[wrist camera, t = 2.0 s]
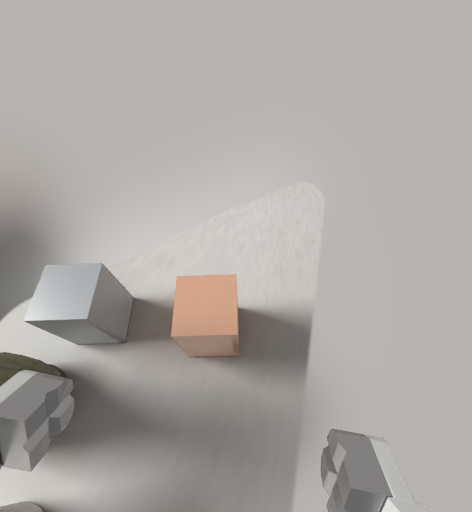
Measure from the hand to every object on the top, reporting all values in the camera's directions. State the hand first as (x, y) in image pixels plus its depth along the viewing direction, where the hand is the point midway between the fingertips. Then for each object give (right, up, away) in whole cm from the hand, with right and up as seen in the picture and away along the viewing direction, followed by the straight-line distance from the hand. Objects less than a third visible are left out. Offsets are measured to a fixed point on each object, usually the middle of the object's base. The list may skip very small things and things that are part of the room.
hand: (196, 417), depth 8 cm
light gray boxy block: (-17, -4, +29) cm, 33 cm away
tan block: (-2, -5, +27) cm, 28 cm away
